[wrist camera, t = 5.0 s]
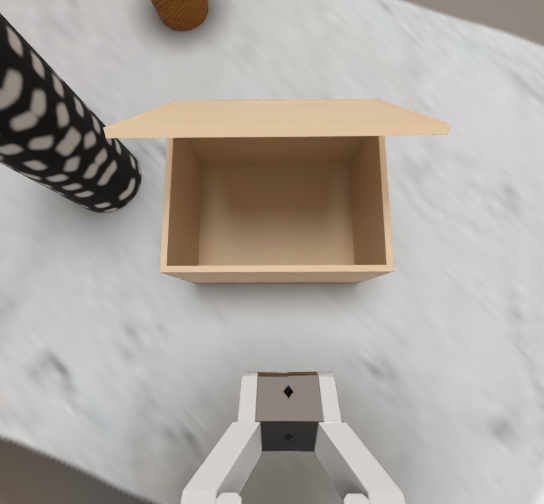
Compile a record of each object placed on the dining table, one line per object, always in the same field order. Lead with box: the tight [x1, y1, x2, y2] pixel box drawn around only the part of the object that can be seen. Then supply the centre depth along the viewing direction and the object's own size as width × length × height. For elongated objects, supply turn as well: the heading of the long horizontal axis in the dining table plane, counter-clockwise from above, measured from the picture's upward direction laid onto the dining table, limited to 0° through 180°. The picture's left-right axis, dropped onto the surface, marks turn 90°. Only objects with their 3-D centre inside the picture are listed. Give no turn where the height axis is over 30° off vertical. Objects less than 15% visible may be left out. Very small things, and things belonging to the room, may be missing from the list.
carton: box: [160, 136, 394, 283], centre depth 32 cm, size 14×18×11 cm
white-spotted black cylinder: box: [0, 13, 141, 212], centre depth 28 cm, size 8×8×20 cm
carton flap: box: [103, 99, 450, 138], centre depth 22 cm, size 13×17×1 cm
